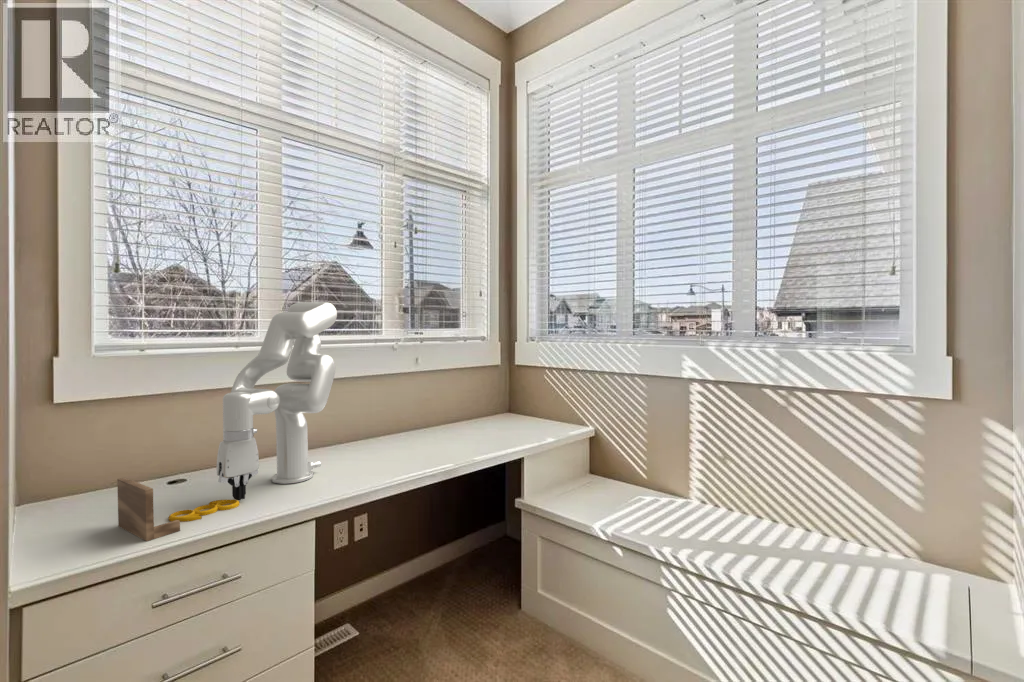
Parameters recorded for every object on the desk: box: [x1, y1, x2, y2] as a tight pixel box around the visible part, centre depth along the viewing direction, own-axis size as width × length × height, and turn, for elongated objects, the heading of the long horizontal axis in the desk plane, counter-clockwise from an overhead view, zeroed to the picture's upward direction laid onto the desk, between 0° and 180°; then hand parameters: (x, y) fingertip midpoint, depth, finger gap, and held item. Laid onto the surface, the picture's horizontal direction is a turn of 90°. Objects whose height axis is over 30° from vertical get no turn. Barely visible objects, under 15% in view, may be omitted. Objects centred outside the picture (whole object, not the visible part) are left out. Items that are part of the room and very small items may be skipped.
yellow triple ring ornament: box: [168, 499, 240, 523], centre depth 132 cm, size 17×2×10 cm
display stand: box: [116, 477, 181, 542], centre depth 120 cm, size 7×16×12 cm, turn 57°
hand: (239, 498), depth 139 cm, fingers closed
